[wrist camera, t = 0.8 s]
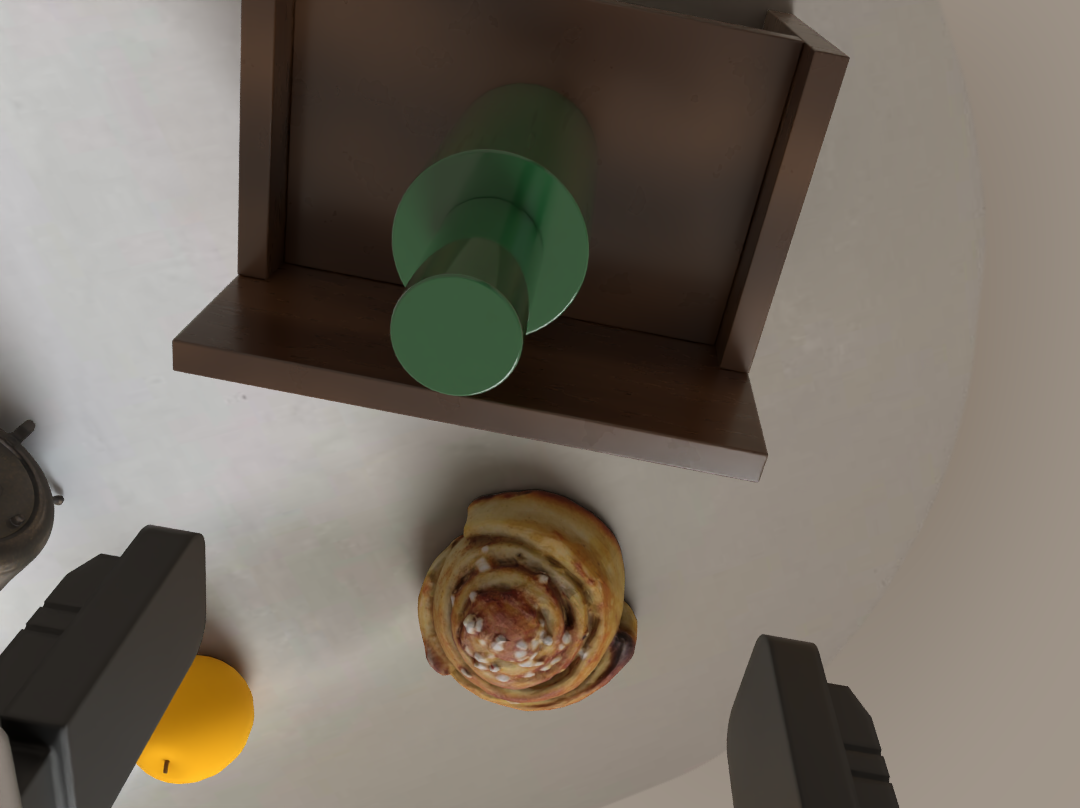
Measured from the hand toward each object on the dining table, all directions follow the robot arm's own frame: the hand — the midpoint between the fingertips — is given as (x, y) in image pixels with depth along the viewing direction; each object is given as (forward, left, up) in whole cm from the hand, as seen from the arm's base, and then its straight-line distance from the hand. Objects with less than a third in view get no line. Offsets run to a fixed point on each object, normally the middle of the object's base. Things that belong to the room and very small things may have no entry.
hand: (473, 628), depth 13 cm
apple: (+42, -18, -35) cm, 58 cm away
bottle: (0, -2, -25) cm, 25 cm away
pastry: (+29, +2, -35) cm, 46 cm away
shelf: (0, -2, -35) cm, 35 cm away
